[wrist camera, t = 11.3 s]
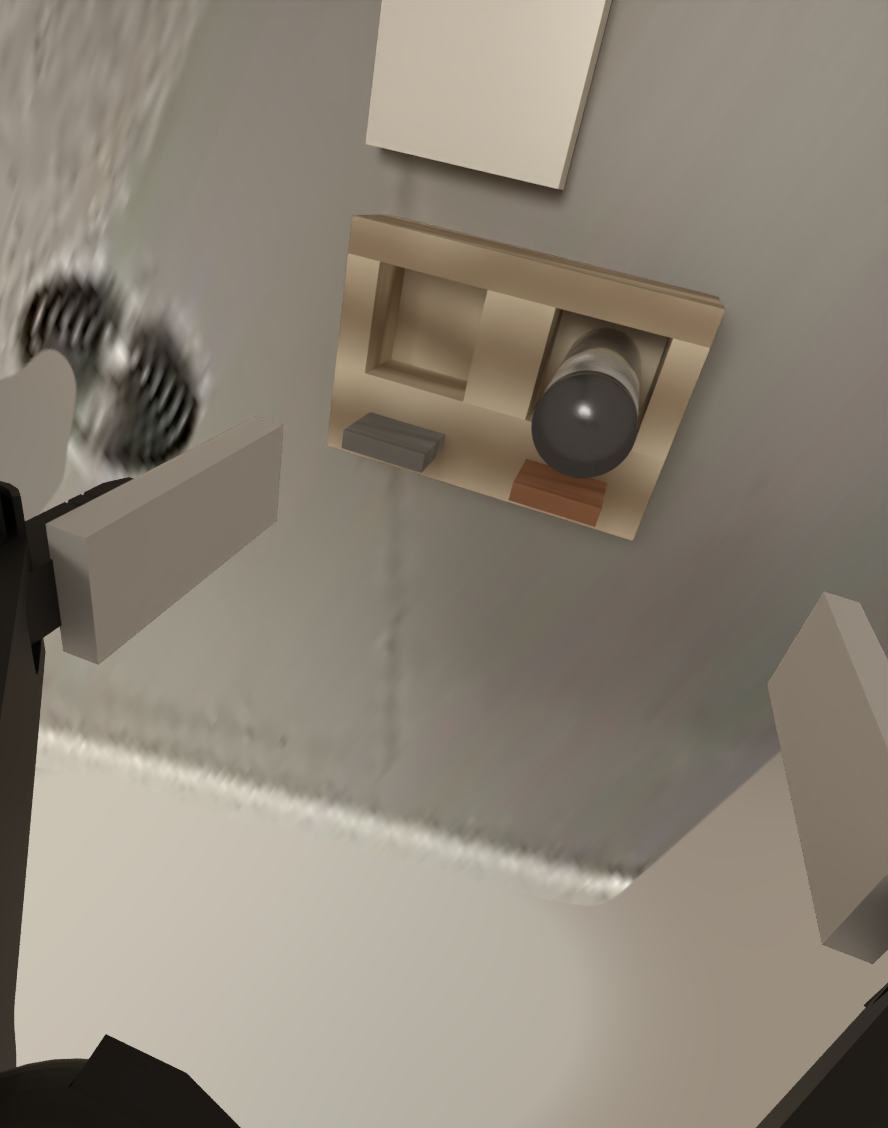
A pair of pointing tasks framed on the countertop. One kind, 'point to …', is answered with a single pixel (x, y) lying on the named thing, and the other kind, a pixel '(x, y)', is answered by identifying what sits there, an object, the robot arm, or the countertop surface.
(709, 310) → the socket block
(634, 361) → the shaker with dark cap
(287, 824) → the countertop surface
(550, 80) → the plate
